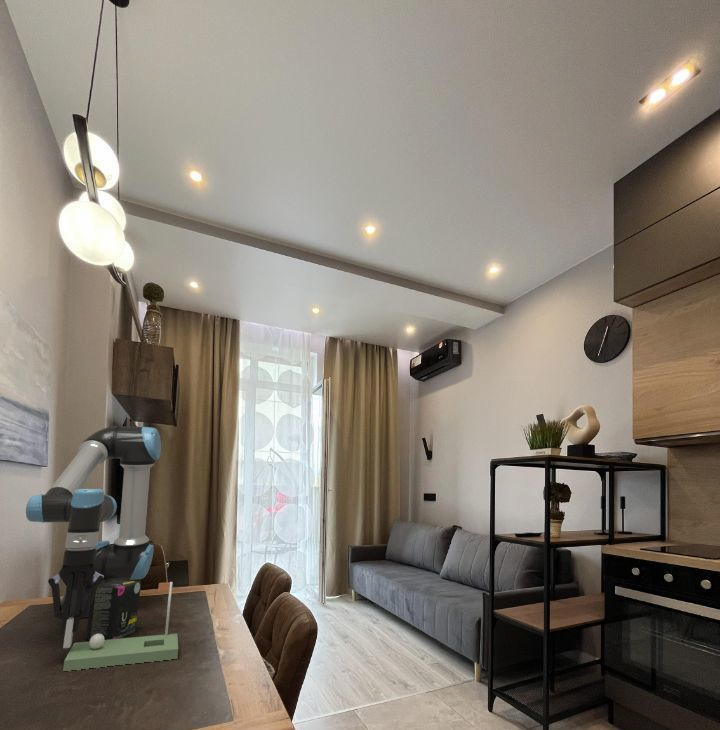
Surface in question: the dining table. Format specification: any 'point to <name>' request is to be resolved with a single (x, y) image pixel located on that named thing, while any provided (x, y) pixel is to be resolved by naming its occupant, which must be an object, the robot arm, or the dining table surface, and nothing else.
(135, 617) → the tampon box
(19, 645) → the dining table surface
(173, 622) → the dining table surface
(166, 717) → the dining table surface
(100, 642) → the ball
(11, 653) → the dining table surface
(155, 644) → the mini golf green
